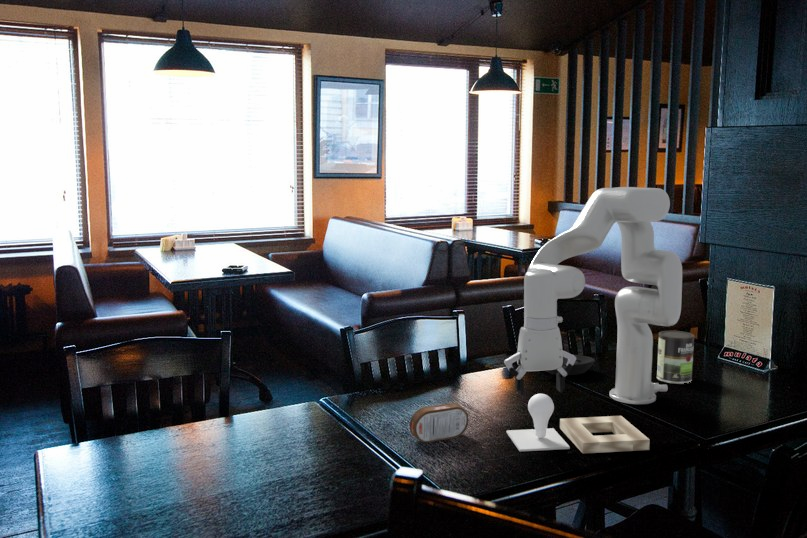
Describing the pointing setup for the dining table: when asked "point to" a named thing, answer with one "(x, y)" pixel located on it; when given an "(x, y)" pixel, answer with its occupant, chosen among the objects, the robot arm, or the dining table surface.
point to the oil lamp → (577, 365)
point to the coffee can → (675, 357)
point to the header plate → (621, 441)
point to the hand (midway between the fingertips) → (540, 392)
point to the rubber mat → (537, 440)
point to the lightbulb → (540, 412)
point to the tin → (439, 422)
